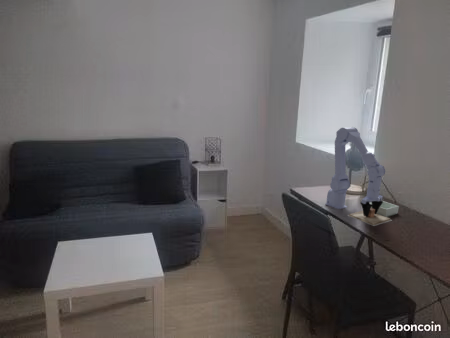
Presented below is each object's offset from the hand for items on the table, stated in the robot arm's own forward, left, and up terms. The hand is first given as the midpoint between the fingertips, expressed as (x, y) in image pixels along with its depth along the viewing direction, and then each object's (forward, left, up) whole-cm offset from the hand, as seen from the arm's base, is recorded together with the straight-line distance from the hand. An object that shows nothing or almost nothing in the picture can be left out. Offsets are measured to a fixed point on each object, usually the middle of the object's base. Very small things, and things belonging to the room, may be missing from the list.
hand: (369, 214), depth 175 cm
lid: (0, 0, -2) cm, 2 cm away
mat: (0, 0, -2) cm, 2 cm away
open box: (-2, +14, -2) cm, 14 cm away
